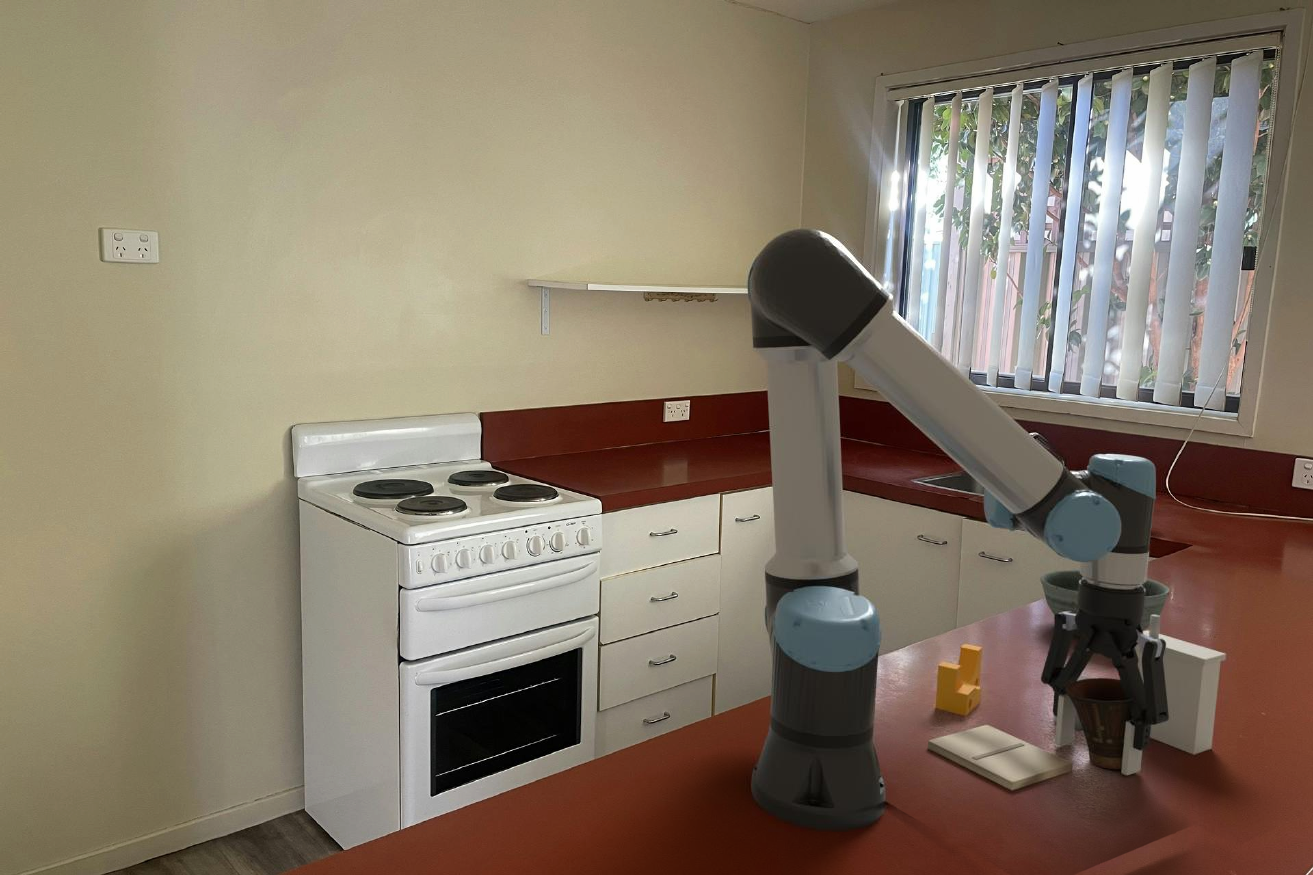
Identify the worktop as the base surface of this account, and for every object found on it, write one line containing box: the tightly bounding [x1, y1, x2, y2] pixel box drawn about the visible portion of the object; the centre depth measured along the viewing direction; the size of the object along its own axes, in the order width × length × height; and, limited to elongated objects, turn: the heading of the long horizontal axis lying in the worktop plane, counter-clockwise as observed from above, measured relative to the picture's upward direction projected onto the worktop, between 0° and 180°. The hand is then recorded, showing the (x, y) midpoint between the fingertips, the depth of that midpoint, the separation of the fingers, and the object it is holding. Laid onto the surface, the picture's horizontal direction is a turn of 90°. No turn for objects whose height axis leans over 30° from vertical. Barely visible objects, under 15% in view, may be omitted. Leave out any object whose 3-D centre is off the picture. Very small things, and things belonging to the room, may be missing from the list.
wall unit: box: [1135, 615, 1227, 756], centre depth 134 cm, size 5×11×16 cm, turn 32°
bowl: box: [1039, 569, 1171, 638], centre depth 178 cm, size 21×21×10 cm
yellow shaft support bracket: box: [934, 643, 983, 717], centre depth 146 cm, size 12×4×6 cm, turn 146°
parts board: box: [927, 724, 1073, 791], centre depth 126 cm, size 11×13×1 cm
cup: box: [1066, 677, 1133, 770], centre depth 126 cm, size 9×9×10 cm
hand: (1096, 756), depth 127 cm, fingers open, 9 cm apart
